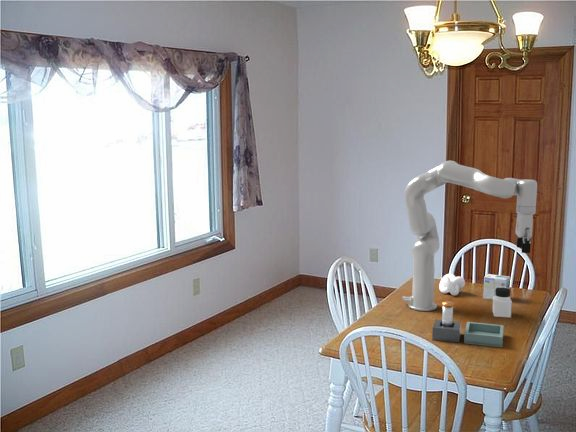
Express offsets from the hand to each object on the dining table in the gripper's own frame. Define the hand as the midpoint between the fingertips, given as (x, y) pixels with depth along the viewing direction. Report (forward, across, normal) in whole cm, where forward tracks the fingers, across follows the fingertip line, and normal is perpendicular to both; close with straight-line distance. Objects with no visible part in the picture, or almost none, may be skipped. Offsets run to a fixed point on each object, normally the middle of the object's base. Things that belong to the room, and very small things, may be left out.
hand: (523, 250), depth 273 cm
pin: (+30, +25, -32) cm, 51 cm away
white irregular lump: (+31, -36, -24) cm, 53 cm away
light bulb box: (+31, -30, -4) cm, 43 cm away
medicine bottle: (+31, -6, -6) cm, 32 cm away
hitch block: (+30, +25, -32) cm, 51 cm away
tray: (+30, +26, -18) cm, 44 cm away
